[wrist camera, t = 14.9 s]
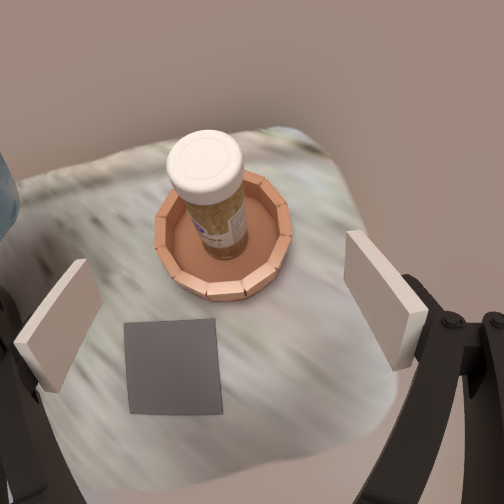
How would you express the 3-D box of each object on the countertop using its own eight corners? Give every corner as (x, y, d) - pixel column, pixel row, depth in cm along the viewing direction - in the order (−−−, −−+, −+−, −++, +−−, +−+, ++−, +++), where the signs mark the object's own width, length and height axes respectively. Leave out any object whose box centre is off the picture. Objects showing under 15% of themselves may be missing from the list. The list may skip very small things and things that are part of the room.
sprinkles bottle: (193, 246, 30) (149, 171, 17) (218, 208, 31) (194, 117, 18) (233, 269, 29) (213, 204, 16) (258, 229, 30) (257, 143, 18)
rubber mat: (131, 413, 26) (130, 413, 25) (125, 323, 28) (123, 322, 28) (223, 413, 26) (222, 414, 25) (214, 318, 29) (214, 318, 28)
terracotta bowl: (167, 305, 29) (154, 298, 25) (167, 194, 33) (157, 175, 29) (294, 295, 29) (299, 286, 25) (278, 182, 33) (280, 162, 29)
